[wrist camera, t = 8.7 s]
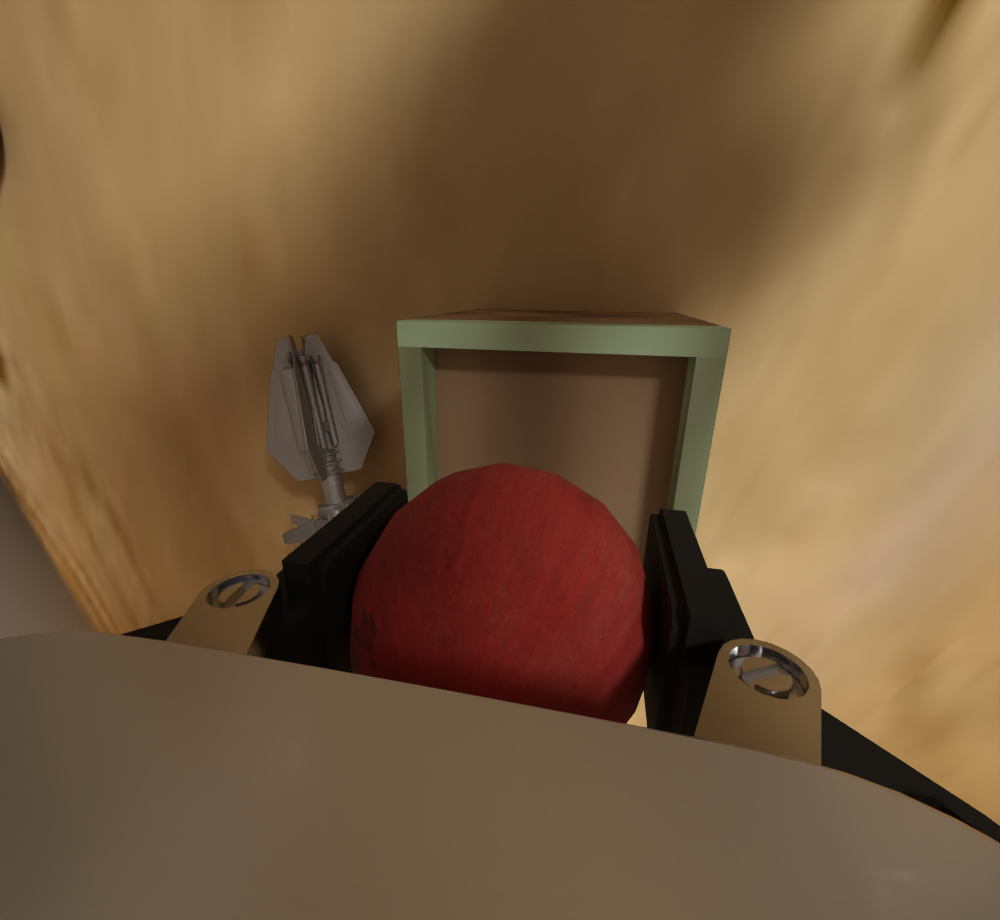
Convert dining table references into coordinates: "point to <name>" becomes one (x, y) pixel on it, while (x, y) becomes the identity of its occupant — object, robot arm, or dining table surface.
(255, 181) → the dining table surface
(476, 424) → the green shadow box
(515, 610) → the onion
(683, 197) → the dining table surface
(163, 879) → the robot arm
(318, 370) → the spaceship
